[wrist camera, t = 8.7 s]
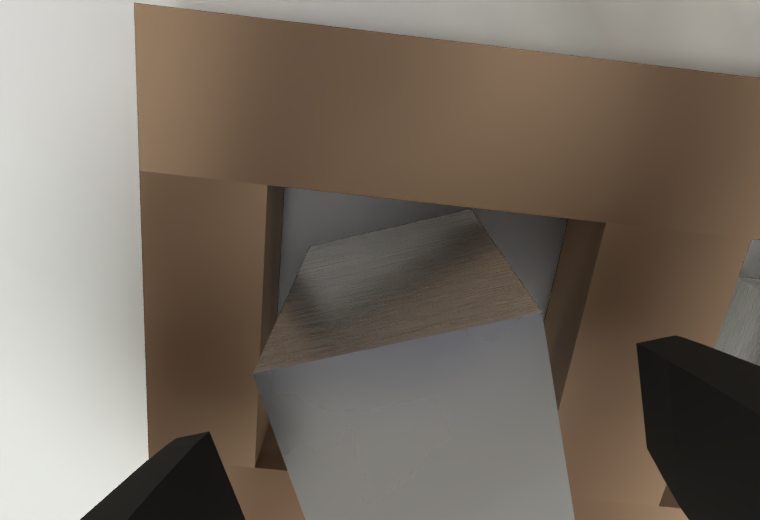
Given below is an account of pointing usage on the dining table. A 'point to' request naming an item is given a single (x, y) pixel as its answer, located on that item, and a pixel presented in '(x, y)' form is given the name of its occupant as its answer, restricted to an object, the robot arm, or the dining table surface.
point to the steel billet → (415, 381)
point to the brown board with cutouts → (438, 186)
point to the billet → (742, 322)
